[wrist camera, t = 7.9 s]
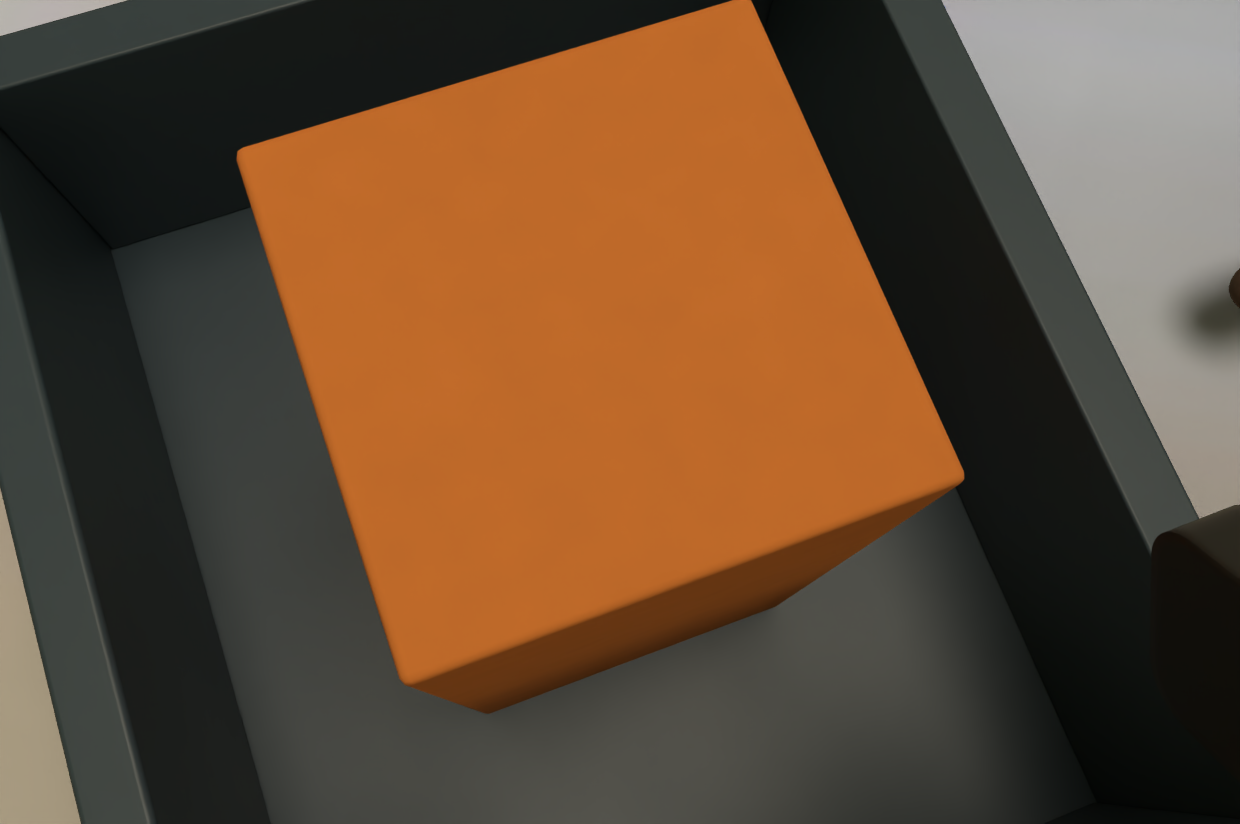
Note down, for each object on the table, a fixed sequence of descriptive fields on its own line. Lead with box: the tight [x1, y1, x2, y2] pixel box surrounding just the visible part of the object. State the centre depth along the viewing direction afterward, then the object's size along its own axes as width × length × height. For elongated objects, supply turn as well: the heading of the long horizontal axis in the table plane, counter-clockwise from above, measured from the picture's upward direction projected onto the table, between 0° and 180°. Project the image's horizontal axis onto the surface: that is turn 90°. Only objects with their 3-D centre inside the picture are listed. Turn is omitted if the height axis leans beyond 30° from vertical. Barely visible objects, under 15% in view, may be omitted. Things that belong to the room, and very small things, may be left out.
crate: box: [0, 0, 1240, 824], centre depth 17 cm, size 14×16×5 cm
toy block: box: [237, 0, 964, 714], centre depth 15 cm, size 5×5×10 cm
